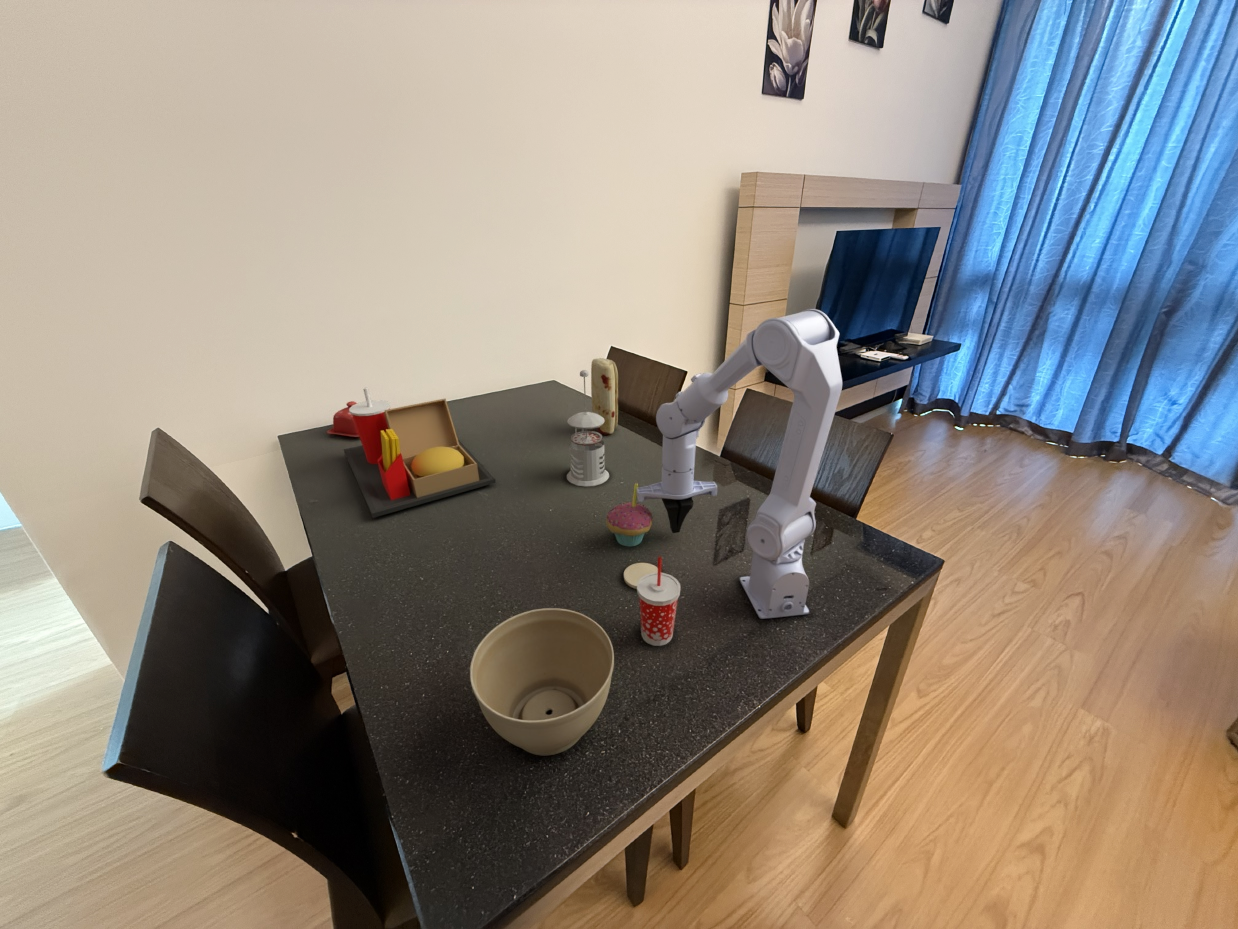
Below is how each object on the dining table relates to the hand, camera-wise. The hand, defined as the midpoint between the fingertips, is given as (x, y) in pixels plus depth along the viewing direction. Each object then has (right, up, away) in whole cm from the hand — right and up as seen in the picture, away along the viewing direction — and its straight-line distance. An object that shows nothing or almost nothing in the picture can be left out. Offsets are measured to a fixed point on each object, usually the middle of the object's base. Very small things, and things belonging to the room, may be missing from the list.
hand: (674, 529), depth 99 cm
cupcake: (-9, -2, 0) cm, 9 cm away
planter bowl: (-19, -19, -34) cm, 44 cm away
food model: (-14, +21, +45) cm, 52 cm away
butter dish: (-82, +21, +46) cm, 96 cm away
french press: (-18, +10, +23) cm, 31 cm away
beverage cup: (-5, -13, -21) cm, 25 cm away
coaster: (-7, -7, -10) cm, 14 cm away
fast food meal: (-58, +11, +25) cm, 64 cm away
